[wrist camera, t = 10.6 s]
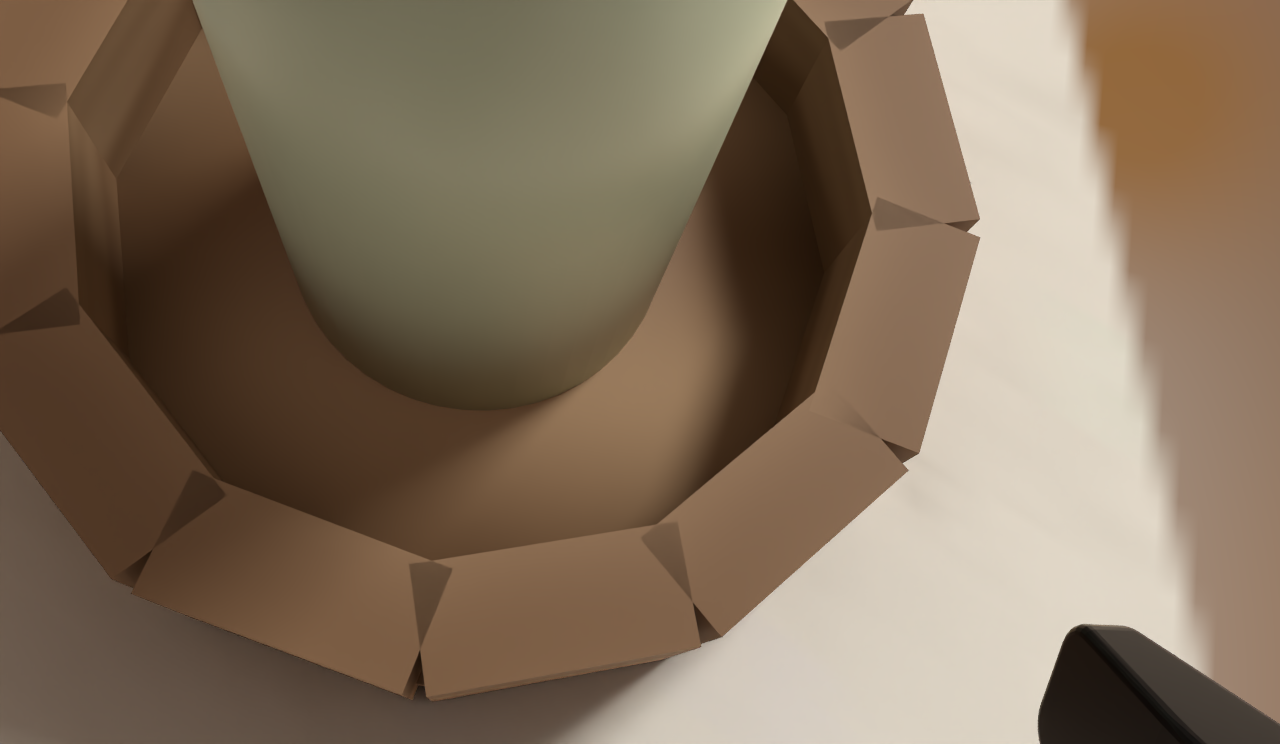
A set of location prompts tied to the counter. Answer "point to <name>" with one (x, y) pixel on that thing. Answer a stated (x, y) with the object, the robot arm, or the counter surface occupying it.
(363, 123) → the candle
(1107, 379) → the counter surface
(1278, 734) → the robot arm
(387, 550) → the bowl
